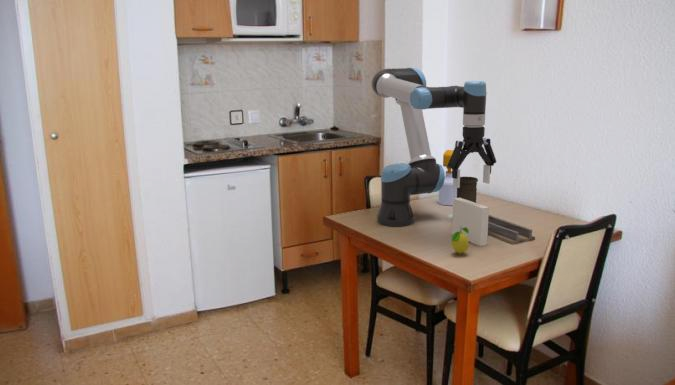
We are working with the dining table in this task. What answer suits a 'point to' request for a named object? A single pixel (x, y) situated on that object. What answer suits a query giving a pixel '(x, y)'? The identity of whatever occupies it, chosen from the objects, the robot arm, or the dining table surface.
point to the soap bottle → (447, 183)
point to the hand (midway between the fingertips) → (471, 185)
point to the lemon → (460, 241)
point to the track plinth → (508, 231)
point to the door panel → (471, 220)
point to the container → (467, 188)
